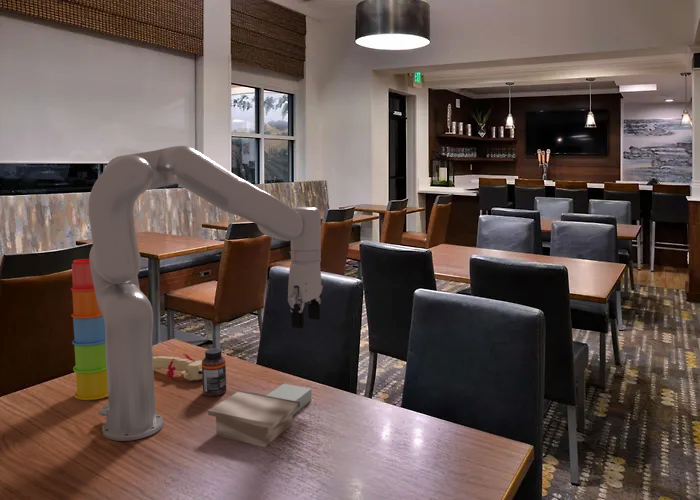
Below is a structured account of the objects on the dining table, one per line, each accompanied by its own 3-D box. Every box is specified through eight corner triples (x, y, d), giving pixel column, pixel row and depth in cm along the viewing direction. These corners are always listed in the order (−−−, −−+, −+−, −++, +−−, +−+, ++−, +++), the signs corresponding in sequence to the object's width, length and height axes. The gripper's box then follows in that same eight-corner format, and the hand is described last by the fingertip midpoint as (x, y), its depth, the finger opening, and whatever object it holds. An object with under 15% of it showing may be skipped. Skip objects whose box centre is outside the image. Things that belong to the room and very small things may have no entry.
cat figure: (128, 378, 158) (199, 385, 148) (124, 348, 157) (195, 353, 147) (153, 367, 167) (222, 373, 157) (150, 338, 166) (219, 342, 156)
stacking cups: (66, 401, 139) (57, 263, 134) (85, 385, 149) (77, 256, 144) (108, 401, 139) (100, 263, 134) (124, 386, 149) (117, 257, 144)
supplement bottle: (208, 387, 148) (206, 346, 147) (229, 388, 148) (228, 347, 146) (199, 396, 142) (197, 353, 141) (221, 397, 142) (220, 354, 140)
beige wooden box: (240, 412, 133) (239, 390, 132) (299, 425, 127) (299, 401, 126) (208, 434, 122) (208, 410, 121) (272, 449, 116) (271, 423, 115)
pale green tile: (258, 413, 133) (258, 401, 132) (283, 394, 144) (283, 383, 143) (287, 419, 130) (287, 407, 129) (311, 400, 141) (311, 388, 140)
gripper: (308, 250, 151) (309, 313, 153) (275, 260, 135) (276, 330, 138) (333, 252, 148) (333, 316, 151) (302, 262, 132) (303, 334, 135)
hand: (306, 322), depth 144 cm, fingers open, 8 cm apart
